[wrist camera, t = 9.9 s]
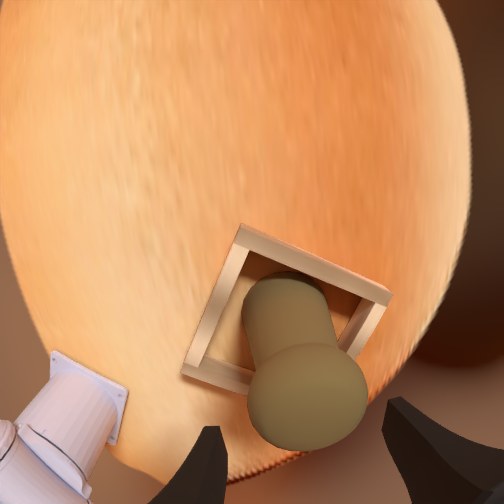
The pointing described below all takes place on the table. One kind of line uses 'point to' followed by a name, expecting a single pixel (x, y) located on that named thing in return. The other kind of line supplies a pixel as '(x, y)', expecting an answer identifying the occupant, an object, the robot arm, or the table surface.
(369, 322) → the open square wooden box
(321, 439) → the cork
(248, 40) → the table surface
